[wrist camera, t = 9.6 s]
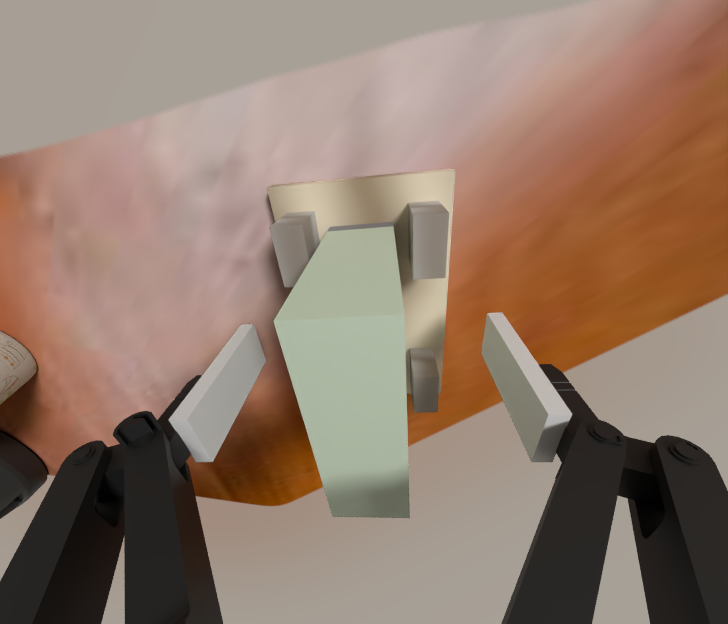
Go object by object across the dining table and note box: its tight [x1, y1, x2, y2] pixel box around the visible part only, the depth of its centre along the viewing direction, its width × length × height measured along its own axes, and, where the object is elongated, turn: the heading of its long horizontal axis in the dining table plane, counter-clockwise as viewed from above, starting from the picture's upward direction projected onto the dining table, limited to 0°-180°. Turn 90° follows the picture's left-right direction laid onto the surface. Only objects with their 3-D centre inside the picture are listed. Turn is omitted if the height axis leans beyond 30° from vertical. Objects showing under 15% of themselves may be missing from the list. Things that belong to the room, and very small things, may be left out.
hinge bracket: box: [267, 169, 455, 412], centre depth 18 cm, size 10×16×4 cm, turn 5°
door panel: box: [273, 222, 410, 518], centre depth 15 cm, size 4×11×10 cm, turn 5°
